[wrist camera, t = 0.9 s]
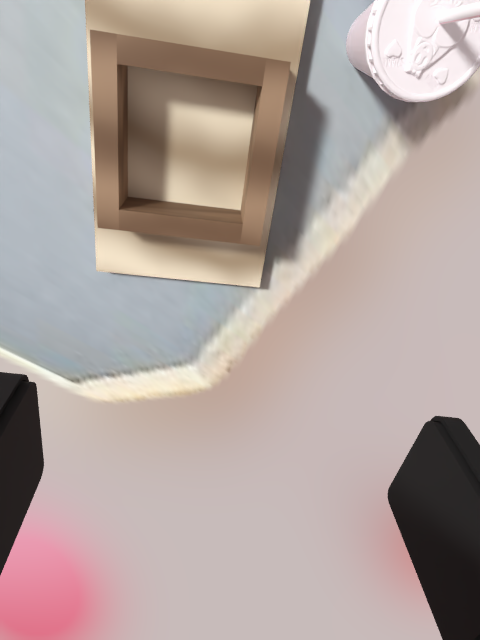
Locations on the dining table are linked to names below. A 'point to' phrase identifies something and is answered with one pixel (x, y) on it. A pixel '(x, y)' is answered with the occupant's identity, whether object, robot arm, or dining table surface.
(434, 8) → the smoothie
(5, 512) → the robot arm
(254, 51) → the socket stand
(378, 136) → the dining table surface
